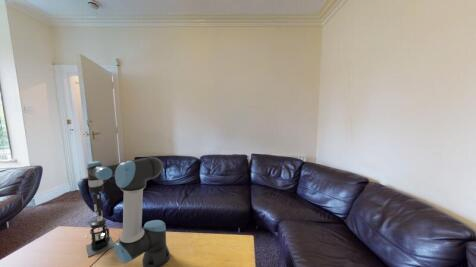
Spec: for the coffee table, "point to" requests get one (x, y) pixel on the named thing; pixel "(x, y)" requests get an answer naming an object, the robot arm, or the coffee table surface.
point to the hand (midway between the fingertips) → (98, 216)
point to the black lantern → (99, 234)
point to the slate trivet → (109, 246)
